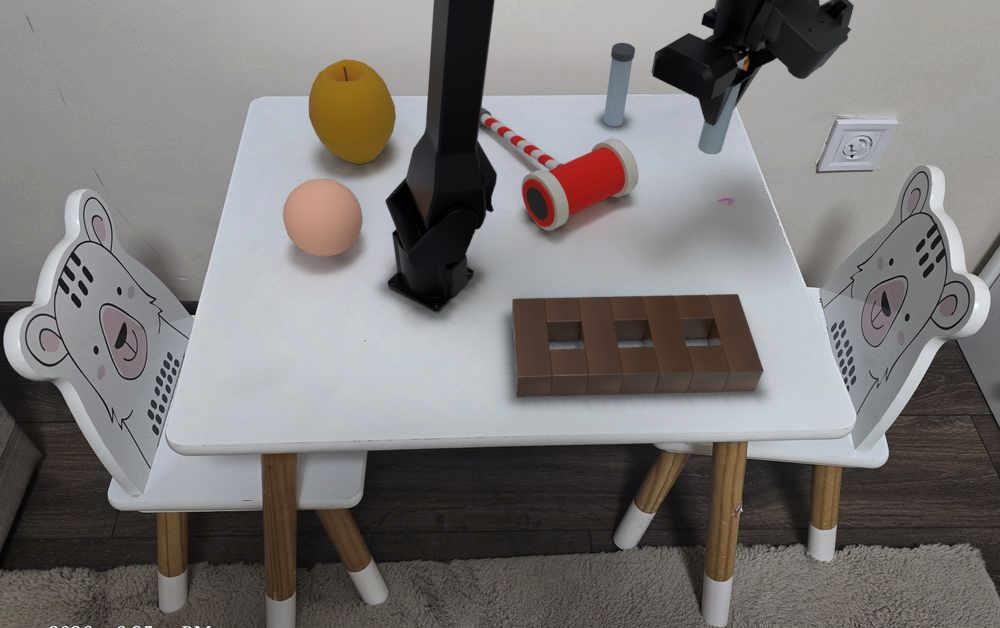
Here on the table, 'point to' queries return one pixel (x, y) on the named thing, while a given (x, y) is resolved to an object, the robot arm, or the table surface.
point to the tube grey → (618, 83)
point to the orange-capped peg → (719, 124)
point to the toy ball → (322, 217)
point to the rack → (633, 368)
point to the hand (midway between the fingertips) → (717, 118)
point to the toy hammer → (570, 177)
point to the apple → (352, 111)
